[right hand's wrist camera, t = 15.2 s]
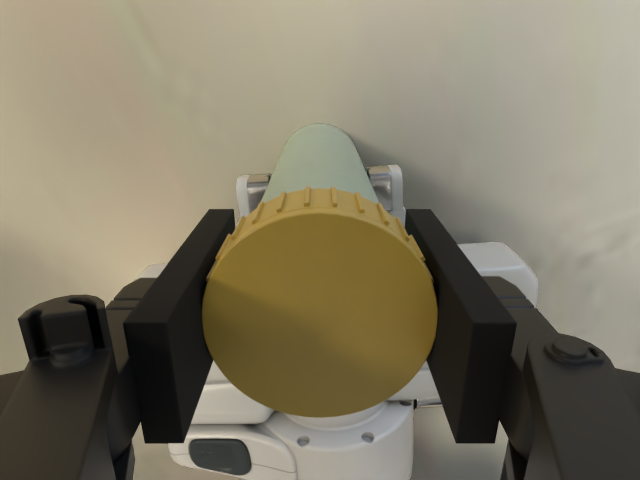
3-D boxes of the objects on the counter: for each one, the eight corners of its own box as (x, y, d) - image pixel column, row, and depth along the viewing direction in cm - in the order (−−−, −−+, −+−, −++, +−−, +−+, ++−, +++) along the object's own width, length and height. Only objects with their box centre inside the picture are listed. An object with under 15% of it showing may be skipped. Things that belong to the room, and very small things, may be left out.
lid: (339, 138, 11) (343, 154, 9) (461, 300, 12) (487, 342, 10) (173, 269, 12) (146, 307, 10) (304, 400, 13) (302, 454, 12)
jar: (326, 106, 26) (338, 180, 9) (373, 169, 27) (455, 329, 11) (265, 156, 27) (180, 300, 10) (313, 214, 28) (305, 422, 12)
